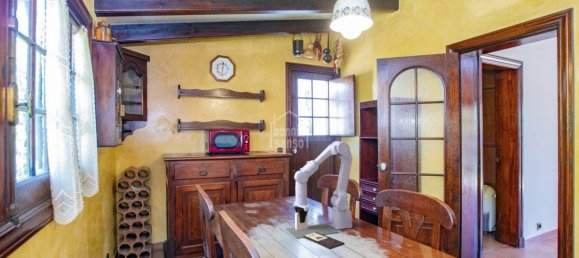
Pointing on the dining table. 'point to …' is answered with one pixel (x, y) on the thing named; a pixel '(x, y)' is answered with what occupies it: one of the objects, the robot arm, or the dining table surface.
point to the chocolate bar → (323, 240)
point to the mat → (312, 230)
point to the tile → (300, 225)
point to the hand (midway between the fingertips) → (301, 221)
